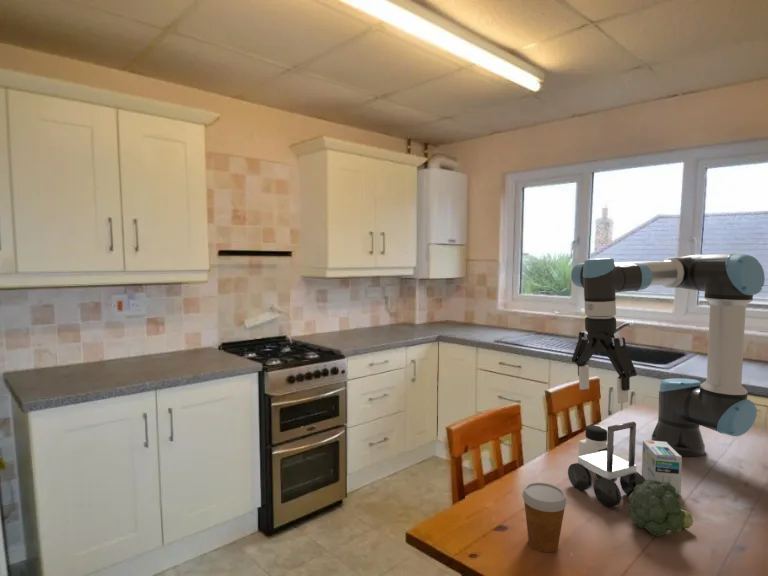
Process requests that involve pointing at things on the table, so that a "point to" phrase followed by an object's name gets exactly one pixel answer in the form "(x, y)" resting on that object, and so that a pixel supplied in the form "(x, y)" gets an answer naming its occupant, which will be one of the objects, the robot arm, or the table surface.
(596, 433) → the medicine bottle
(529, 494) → the disposable coffee cup
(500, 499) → the table surface
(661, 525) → the vegetable
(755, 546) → the table surface
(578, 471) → the trolley
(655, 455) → the light bulb box
